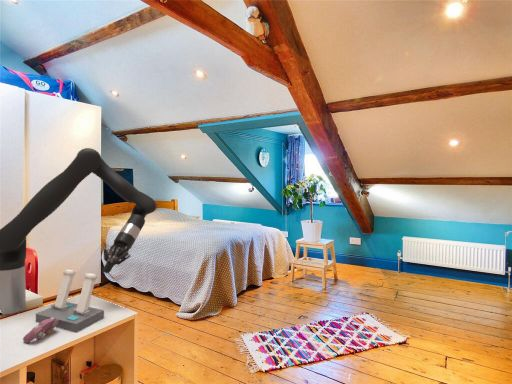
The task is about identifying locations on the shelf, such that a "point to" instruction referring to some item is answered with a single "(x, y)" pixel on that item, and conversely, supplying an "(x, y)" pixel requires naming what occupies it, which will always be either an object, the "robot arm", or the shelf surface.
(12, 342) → the shelf surface
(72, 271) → the lever
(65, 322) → the switch base
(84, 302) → the lever
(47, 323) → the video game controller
